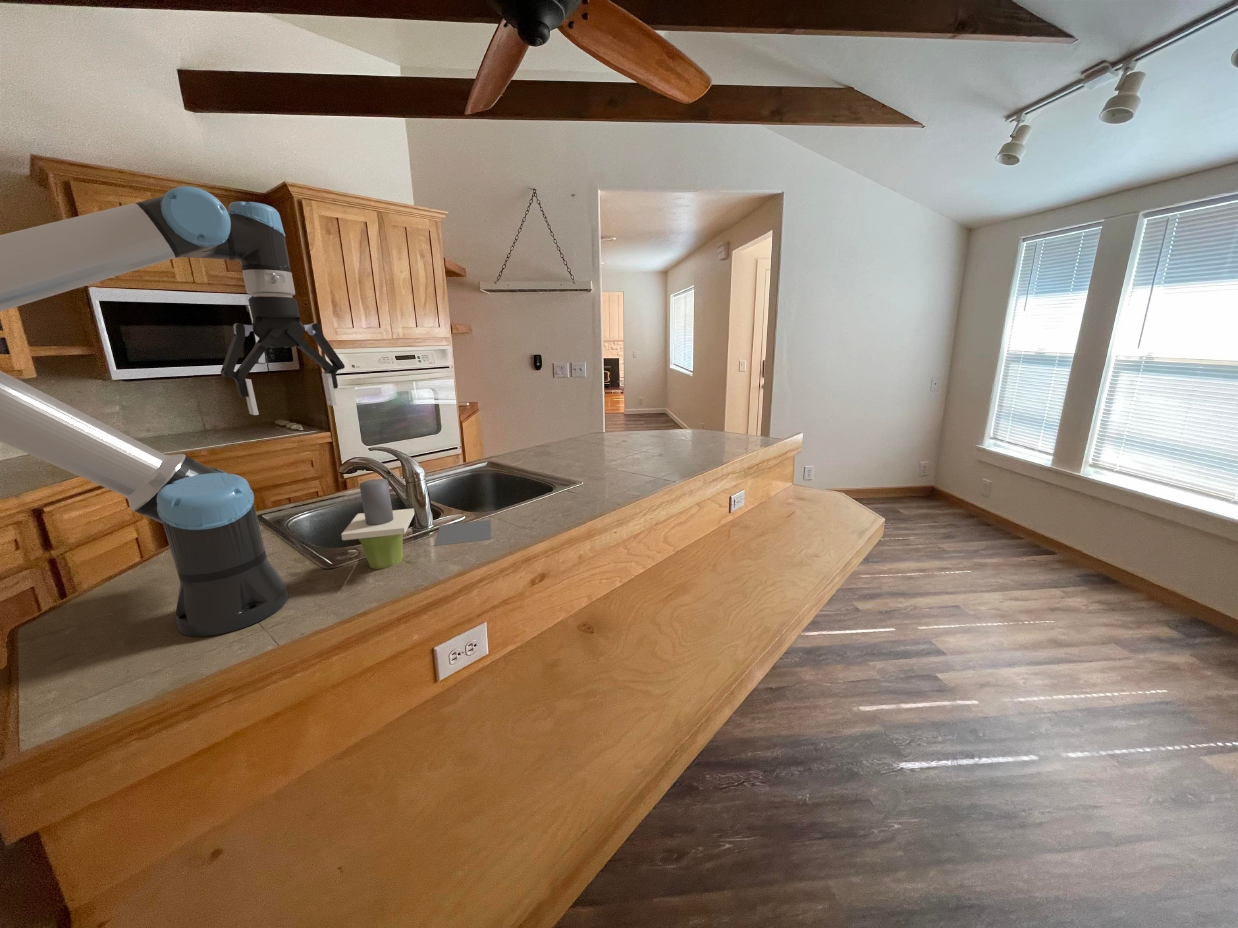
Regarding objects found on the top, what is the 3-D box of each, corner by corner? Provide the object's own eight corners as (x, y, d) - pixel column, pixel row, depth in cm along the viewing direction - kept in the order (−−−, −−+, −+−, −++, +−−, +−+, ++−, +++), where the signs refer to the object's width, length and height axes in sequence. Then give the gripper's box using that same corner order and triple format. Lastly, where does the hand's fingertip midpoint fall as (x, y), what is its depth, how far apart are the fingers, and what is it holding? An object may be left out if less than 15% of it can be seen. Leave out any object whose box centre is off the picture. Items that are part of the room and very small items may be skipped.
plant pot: (410, 570, 96) (404, 530, 94) (358, 580, 93) (350, 538, 91) (411, 551, 105) (406, 514, 102) (363, 559, 102) (356, 521, 99)
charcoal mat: (491, 542, 109) (490, 538, 108) (435, 549, 106) (434, 545, 106) (491, 522, 120) (490, 519, 120) (440, 528, 117) (439, 525, 117)
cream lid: (404, 533, 93) (398, 488, 90) (342, 540, 90) (333, 493, 88) (414, 513, 103) (408, 472, 101) (358, 519, 101) (351, 477, 98)
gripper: (190, 292, 78) (221, 420, 84) (350, 298, 97) (367, 403, 102) (180, 295, 83) (211, 416, 89) (335, 300, 101) (352, 400, 107)
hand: (295, 409), depth 95 cm, fingers open, 13 cm apart
